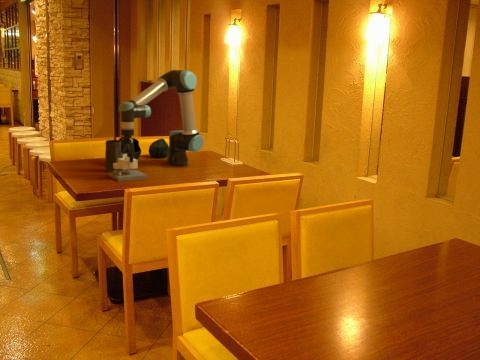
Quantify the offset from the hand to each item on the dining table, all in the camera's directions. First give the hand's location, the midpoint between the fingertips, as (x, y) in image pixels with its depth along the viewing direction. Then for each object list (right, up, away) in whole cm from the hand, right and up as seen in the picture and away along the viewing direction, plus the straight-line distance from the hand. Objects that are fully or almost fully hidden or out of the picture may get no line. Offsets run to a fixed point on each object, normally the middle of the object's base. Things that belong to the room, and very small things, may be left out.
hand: (127, 165), depth 299 cm
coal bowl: (-9, +2, +37) cm, 38 cm away
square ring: (-2, -1, -1) cm, 2 cm away
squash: (+8, +8, +67) cm, 68 cm away
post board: (0, -7, +2) cm, 7 cm away
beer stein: (-12, -3, +18) cm, 21 cm away
